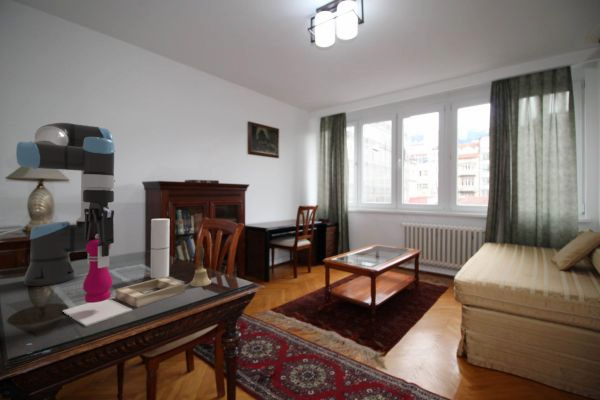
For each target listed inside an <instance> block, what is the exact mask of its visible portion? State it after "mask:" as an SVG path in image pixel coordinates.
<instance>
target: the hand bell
mask: <svg viewBox="0 0 600 400" xmlns="http://www.w3.org/2000/svg"><path fill="white" fill-rule="evenodd" d="M196 253H197V259H198V266H197V267H198V269H195V271H194V275H193V278H192V280H191V281H190V282H189V286H191V287H195V288H196V287H197V288H199V287H207V286H209V285H211V284H212V280H211V279H209V277H208V276H209V275H208V272H207V269H206V268H204V261H203V259H204V256H205V250H204V245H203V243H201V244H198V247H197V252H196Z"/></svg>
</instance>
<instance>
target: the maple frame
mask: <svg viewBox="0 0 600 400" xmlns="http://www.w3.org/2000/svg"><path fill="white" fill-rule="evenodd" d="M156 288H159V289H158V290H155V291H152V292H151V291H150V290H153V289H156ZM146 291H150V292H148V293H142V292H146ZM185 291H186V283H184V282H181V281H177V280H173V279H170V278H167V277H165V278H164V277H161V278H157V279H153V278H152V279H150V280H145V281H143V282H139V283H134V284H131V285H127V286H122V287H120V288H119V287H118V288H116V289H115V299H117V300H119V301H121V302H123V303H126V304H128V305H131V306H132V307H135V308H141V307H144V306H146V305H149V304H152V303H156V302H158V301H161V300H165V299H167V298H171V297H173V296H176V295H179V294H182V293H185Z"/></svg>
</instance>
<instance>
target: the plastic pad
mask: <svg viewBox="0 0 600 400" xmlns="http://www.w3.org/2000/svg"><path fill="white" fill-rule="evenodd" d="M132 311H133V308H132V307H129V306H126V305H124V304H122V303H120V302H118V301H116V300H113V299H111V298H109V299H107V300H104V301H101V302H95V303H88V302H86V303H84V304H80V305H77V306H73V307H70V308H65V309H63V310H62V313H63V312H64V314H65V315H67V316H68V315H69V317H70V318H71V317H72V318H71V319H73V320H74V321H76V322H78V323H79V324H81V325H83V326H84V327H89V326H92V325H95V324H98V323H101V322H103V321H106V320H109V319H112V318H116V317H118V316H121V315H124V314H126V313H127V314H128V313H131V312H132Z"/></svg>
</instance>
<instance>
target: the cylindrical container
mask: <svg viewBox="0 0 600 400" xmlns="http://www.w3.org/2000/svg"><path fill="white" fill-rule="evenodd" d="M150 221H151V222H150V223H151V224H150V278H151V279H153V278H155V279H157V278H161V277H164V278H167V277H169V276H170V231H171V230H170V227H171V226H170V225H171V223H170V221H171V220H170V218H152V219H151V220H150Z"/></svg>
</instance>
